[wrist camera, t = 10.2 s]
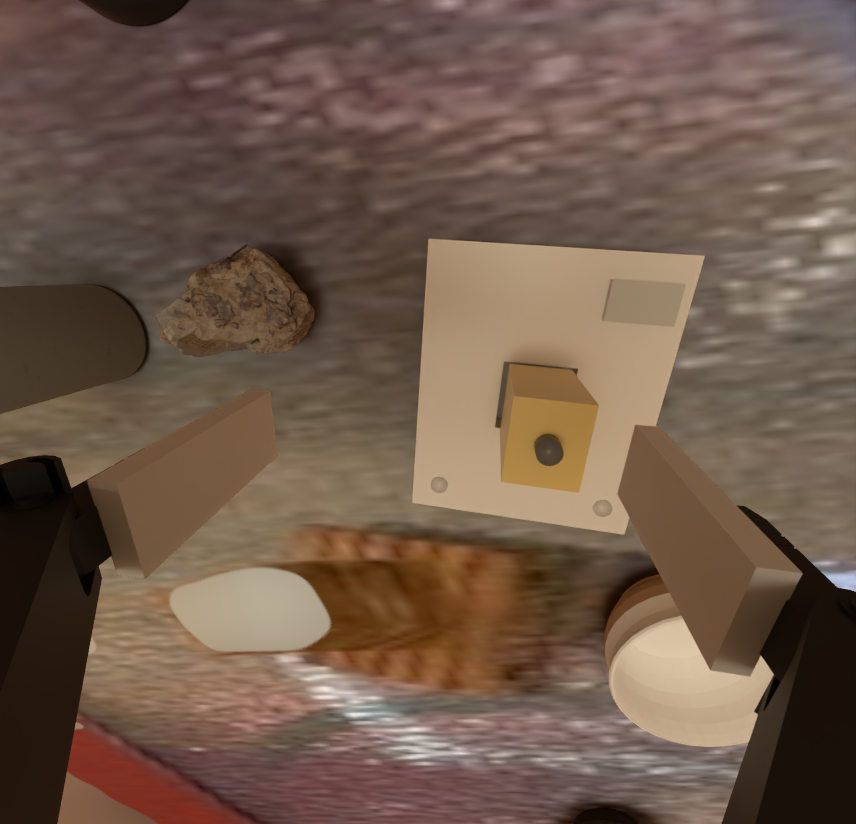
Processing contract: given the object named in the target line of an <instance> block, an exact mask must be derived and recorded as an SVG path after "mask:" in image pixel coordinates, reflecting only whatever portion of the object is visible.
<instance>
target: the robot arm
mask: <svg viewBox="0 0 856 824" xmlns="http://www.w3.org/2000/svg"><path fill="white" fill-rule="evenodd" d="M79 1H81V2H82V3H84V4H85V5H87V6H88V7H90V8H92V9H93V10H95V11H96V12H98V13H99V14H101V15H103V16H104V17H106V18H108V19H111V20H113V21H116V22H119V23H122V24H127V25H147V24H152V23H155V22H158V21H160V20H163V19H165V18H166V17H168V16H170V15H171V14H172V13H174V12H175V11H176V10H177V9H179V8H180V7H181V6H182V5H183V3H184V2H185V1H186V0H79ZM277 456H278V455H277V446H276V438H275V429H274V420H273V412H272V403H271V394H270V391H263V390H253V389H251V390H249V391H247V392H246V393H244V394H242V395H240V396H238V397H237V398H235V399H233V400H231V401H229V402H228V403H226V404H224V405H222V406H220V407H219V408H217V409H215V410H213V411H211V412H210V413H208V414H206V415H204V416H202V417H200V418H199V419H197V420H195V421H193V422H191V423H190V424H188V425H186V426H184V427H182V428H181V429H179V430H177V431H175V432H173V433H172V434H170V435H168V436H166V437H164V438H163V439H161V440H159V441H157V442H155V443H154V444H152V445H150V446H148V447H146V448H144V449H142V450H140V451H138V452H136V453H135V454H133V455H131V456H129V457H128V458H126V459H124V460H122V461H120V462H118V463H116V464H115V465H114V466H111V467H109V468H107V469H106V470H104V471H102V472H100V473H98V474H97V475H95V476H93V477H91V478H89V479H87V480H86V481H84V482H82V483H80V484H78V485H77V486H75V487H73V488H71V486H70V483H69V480H68V477H67V475H66V472H65V469H64V466H63V463H62V460H61V458H59V457H56V456H47V455H43V456H33V457H27V458H22V459H18V460H14V461H11V462H8V463H5V464H2V465H0V824H57V822H58V817H59V811H60V806H61V800H62V795H63V789H64V784H65V778H66V773H67V767H68V762H69V756H70V751H71V745H72V740H73V734H74V729H75V723H76V718H77V712H78V707H79V701H80V696H81V690H82V685H83V679H84V674H85V668H86V663H87V657H88V652H89V646H90V641H91V635H92V630H93V624H94V619H95V613H96V608H97V602H98V597H99V591H100V586H101V580H102V577H101V573H100V570H99V567H98V566H99V565H100V564H101V563H103V562H104V561H105V560H107V559H108V558H109V557H110V556H112V560H113V563H114V566H115V569H116V572H117V575H122V576H128V577H134V578H141V579H146V578H147V577H148V576H149V575H150V574H151V573H152V572H153V571H154V570H155V569H156V568H157V567H158V566H160V565H161V564H162V563H163V562H164V561H165V560H166V559H167V558H168V557H169V556H170V555H171V554H172V553H173V552H175V551H176V550H177V549H178V548H179V547H180V546H181V545H182V544H183V543H184V542H185V541H186V540H187V539H189V538H190V537H191V536H192V535H193V534H194V533H195V532H196V531H197V530H198V529H199V528H200V527H201V526H202V525H204V524H205V523H206V522H207V521H208V520H209V519H210V518H211V517H212V516H213V515H214V514H215V513H216V512H218V511H219V510H220V509H221V508H222V507H223V506H224V505H225V504H226V503H227V502H228V501H229V500H230V499H231V498H233V497H234V496H235V495H236V494H237V493H238V492H239V491H240V490H241V489H242V488H243V487H244V486H245V485H247V484H248V483H249V482H250V481H251V480H252V479H253V478H254V477H255V476H256V475H257V474H258V473H259V472H260V471H262V470H263V469H264V468H265V467H266V466H267V465H268V464H269V463H270V462H271V461H272V460H273V459H274V458H276V457H277ZM617 495H618V496H619V498H620V500H621V502H622V504H623V506H624V508H625V510H626V512H627V514H628V515H629V517H630V519H631V521H632V523H633V525H634V527H635V529H636V531H637V532H638V534H639V536H640V538H641V540H642V542H643V544H644V546H645V548H646V550H647V551H648V553H649V555H650V557H651V559H652V561H653V563H654V565H655V567H656V569H657V570H658V572H659V574H660V576H661V578H662V580H663V582H664V584H665V586H666V587H667V589H668V591H669V593H670V595H671V597H672V599H673V601H674V603H675V605H676V606H677V608H678V610H679V612H680V614H681V616H682V618H683V620H684V622H685V624H686V625H687V627H688V629H689V631H690V633H691V635H692V637H693V639H694V641H695V642H696V644H697V646H698V648H699V650H700V652H701V654H702V656H703V658H704V660H705V661H706V663H707V665H708V667H709V669H710V670H711V671H718V672H724V673H730V674H736V675H742V676H749V677H750V676H751V674H752V672H753V670H754V668H755V666H756V664H757V662H758V660H759V658H760V656H762V658H763V659H764V661H765V662H766V664H767V665H768V667H769V668H770V670H771V671H772V673H773V674H774V675H773V677H772V679H771V681H770V683H769V685H768V686H767V688H766V690H765V692H764V694H763V696H762V697H761V699H760V701H759V703H758V705H757V707H756V709H755V710H754V712H755V713H757V714H758V716H757V719H756V722H755V725H754V728H753V731H752V734H751V737H750V740H749V743H748V746H747V749H746V752H745V755H744V758H743V761H742V764H741V767H740V770H739V773H738V776H737V779H736V782H735V785H734V788H733V791H732V794H731V797H730V800H729V803H728V806H727V809H726V812H725V815H724V818H723V821H722V824H856V592H854V591H852V590H847V589H842V588H837V587H836V586H835V585H834V584H833V583H832V582H831V581H830V580H829V579H828V578H827V577H826V576H825V575H824V574H823V573H821V572H820V571H819V570H818V569H817V568H816V567H815V566H814V565H813V564H812V563H811V562H810V561H809V560H808V559H807V558H806V557H805V556H804V555H803V554H802V553H801V552H800V551H799V550H798V549H794V546H793V545H792V544H791V543H790V542H789V541H788V540H787V539H786V538H785V537H782V536H781V533H780V532H779V531H778V530H777V529H776V528H775V527H774V526H773V525H771V524H770V523H769V522H768V521H767V520H766V519H765V518H763V517H761V516H760V515H758V514H756V513H755V512H753V511H752V510H750V509H748V508H747V507H745V506H736V505H735V504H734V503H733V502H732V501H731V500H730V499H729V498H728V496H727V495H726V494H725V493H724V492H723V491H722V490H721V489H720V488H719V487H718V486H717V485H716V484H715V483H714V482H713V481H712V480H711V479H710V478H709V477H708V476H707V475H706V474H705V473H704V472H703V471H702V470H701V469H700V468H699V467H698V466H697V465H696V464H695V463H694V462H693V461H692V460H691V459H690V458H689V457H688V456H687V455H686V454H685V453H684V452H683V451H682V450H681V449H680V448H679V447H678V445H677V444H676V443H675V442H674V441H673V440H672V439H671V438H670V437H669V436H668V435H667V434H666V433H665V432H664V431H663V430H662V429H661V428H660V427H656V426H645V425H635V427H634V431H633V435H632V439H631V443H630V446H629V450H628V454H627V458H626V462H625V466H624V470H623V474H622V477H621V481H620V485H619V489H618V493H617Z"/></svg>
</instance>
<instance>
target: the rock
mask: <svg viewBox="0 0 856 824" xmlns="http://www.w3.org/2000/svg"><path fill="white" fill-rule="evenodd" d="M188 281H189V283H188V284H187V286H188V290H187V291H186V292H185V293H184V294H183V296H182V297H181V299H179V298H178V299H177V300H176V301H175V302H173V303H172V304H171V305H170V306H169V307H167V308H165V309H164V310H162V311H161V312H160V313H159V314H158V315H157V316H156V318H157V320H158V322H159V324H160V326H161V328H160V330H161V331H160V340H161V341H163V342H164V343H167V344H169V345H170V346H175V347H176V348H177V349H178V350H179V351H180V352H181V353H182V354H184V355H192V356H194V357H204V356H208V355H213V354H218V353H221V352H223V351H226V350H227V351H234V350H240V349H244V348H247V347H248V348H249V349H250V350H251V351H252V352H253V353H255V354H260V353H263V354H268V353H270V352H273V351H274V352H280V351H281V352H286V351H289V350H291V349H292V348H293V347H294V346H297V345H299V344H300V342H301V341H302V339H303V338H304V336H306V334H307V332H308V330H309V328H310V327H311V322H312V321H313V320H314V309H313V307H312V306H311V305H310V304H309V301H308V298H307V296H306V293H304V292H302V291H301V290H300V289H299V287H298V286H297V284H296V283H295V282H294V280H293V279H292V278H291V276H290V275H289V274H288V273H287V272H286V271H285V270H284V269H283V268H282V267H281V266H280V265H279V264H278V262H277V261H276V260H275V259H274V258H273V257H272V256H271V255H269V254H267V253H265V252H263V251H260V250H258V249H256V248H254V247H251V246H249V245H245V246H243V247H242V248H241V249H239V250H238V251H236V252H235V253H233V254H232V255H231V256H230V257H225V258H223V259H222V260H220V261H218V262H217V263H211V264H209V265H208V266H206V268H204V269H200V270H198V271H197V272H194V273H193V274H192V275H191V277H190V278H189V279H188Z"/></svg>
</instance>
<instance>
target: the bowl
mask: <svg viewBox="0 0 856 824" xmlns="http://www.w3.org/2000/svg"><path fill="white" fill-rule="evenodd" d="M604 647H605V657H606V661H607V665H608V668H609V687H610V690H611V694H612V697H613V699H614V700H615V702H616V704H617V706H618V707H619V709H620V710H621V711H622V712H623V713H624V714H625V715H626V716H627V717H628V718H629V719H630V720H631V721H632V722H633V723H635V724H636V725H638V726H639V727H640V728H642V729H643V730H645V731H647V732H649V733H651V734H653V735H655V736H658V737H660V738H663V739H666V740H669V741H672V742H677V743H681V744H686V745H693V746H705V747H714V746H730V745H736V744H743V743H747V742H749V740H750V737H751V734H752V731H753V728H754V725H755V722H756V719H757V716H758V714H757V713H755V712H754V710H755V709H756V707H757V705H758V703H759V701H760V699H761V697H762V696H763V694H764V692H765V690H766V688H767V686H768V685H769V683H770V681H771V679H772V677H773V675H774V674H773V673H772V671H771V670H770V668H769V667H768V665H767V664H766V662H765V661H764V659H763V658H762V656H760V658H759V660H758V662H757V664H756V666H755V668H754V670H753V672H752V674H751V676H750V677H749V676H742V675H736V674H730V673H724V672H718V671H711V670H710V669H709V667H708V665H707V663H706V661H705V660H704V658H703V656H702V654H701V652H700V650H699V648H698V646H697V644H696V642H695V641H694V639H693V637H692V635H691V633H690V631H689V629H688V627H687V625H686V624H685V622H684V620H683V618H682V616H681V614H680V612H679V610H678V608H677V606H676V605H675V603H674V601H673V599H672V597H671V595H670V593H669V591H668V589H667V587H666V586H665V584H664V582H663V580H662V578H661V576H660V574H658V575H654V576H650V577H647V578H645V579H642V580H640V581H638V582H636V583H635V584H633V585H632V586H631V587H629V588H628V589H627V590H626V591H625V592H624V593H623V594H622V596H621V598H620V600H619V601H618V603H617V604H616V605H615V607H614V608H613V610H612V612H611V613H610V616H609V619H608V622H607V625H606V629H605V632H604Z"/></svg>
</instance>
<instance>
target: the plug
mask: <svg viewBox="0 0 856 824" xmlns="http://www.w3.org/2000/svg"><path fill="white" fill-rule="evenodd" d="M598 408H599V405H598V403H597V402H596V401H595V399H594V398H593V397H592V395H591V394H590V393H589V391H588V390H587V389H586V388H585V386H584V385H583V384H582V382H581V381H580V380H579V378H578V377H577V376H576V374H575V373H574V372H573V370H567V369H558V368H548V367H538V366H528V365H518V364H509V370H508V377H507V384H506V391H505V398H504V405H503V412H502V419H501V426H500V462H501V482H505V483H512V484H519V485H526V486H533V487H540V488H547V489H555V490H562V491H569V492H576V493H579V491H580V486H581V482H582V478H583V473H584V469H585V465H586V460H587V456H588V452H589V447H590V443H591V439H592V434H593V430H594V426H595V421H596V417H597V413H598Z"/></svg>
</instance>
